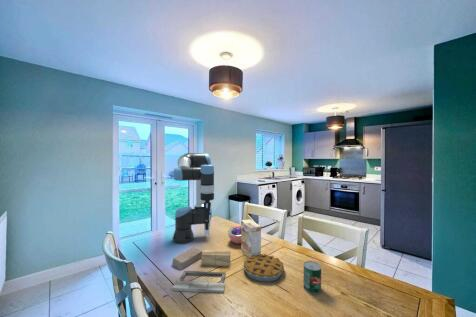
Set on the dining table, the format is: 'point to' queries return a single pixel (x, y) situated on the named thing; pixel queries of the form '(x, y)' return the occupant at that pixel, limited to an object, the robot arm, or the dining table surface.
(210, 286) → the floor panel
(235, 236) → the cell model
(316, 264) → the canned tomato
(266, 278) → the pie
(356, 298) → the dining table surface
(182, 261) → the brick
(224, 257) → the plank
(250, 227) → the coffeecake box
